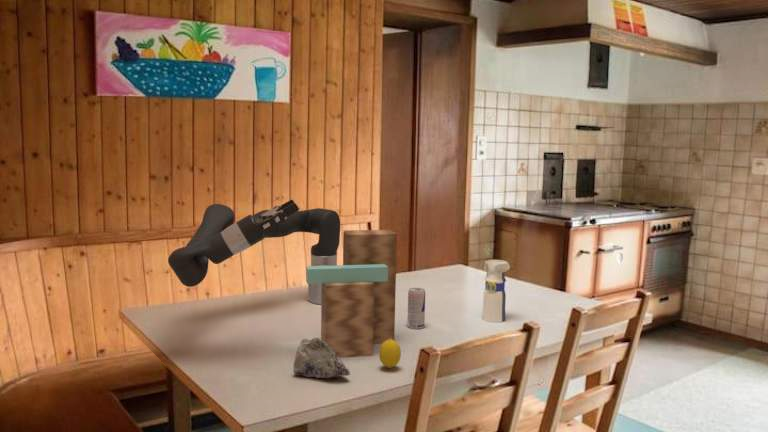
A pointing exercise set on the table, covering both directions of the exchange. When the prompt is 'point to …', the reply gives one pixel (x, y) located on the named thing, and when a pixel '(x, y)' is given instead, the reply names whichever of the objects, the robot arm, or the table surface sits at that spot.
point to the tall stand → (376, 250)
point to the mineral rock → (318, 360)
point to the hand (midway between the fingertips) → (295, 204)
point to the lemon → (390, 353)
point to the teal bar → (346, 273)
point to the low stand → (348, 318)
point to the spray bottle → (494, 290)
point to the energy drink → (416, 308)
